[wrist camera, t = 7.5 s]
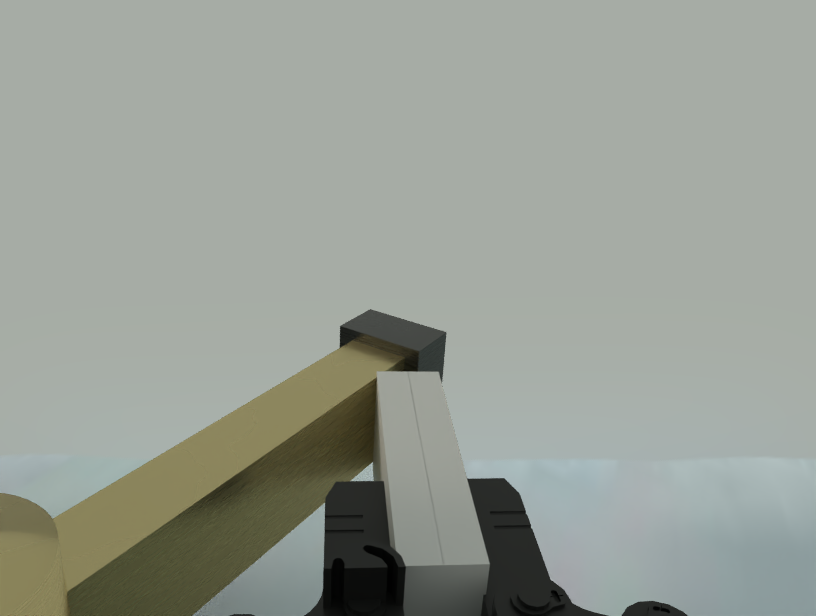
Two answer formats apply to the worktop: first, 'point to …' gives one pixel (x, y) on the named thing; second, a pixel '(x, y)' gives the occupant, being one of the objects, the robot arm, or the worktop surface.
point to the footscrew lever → (211, 491)
